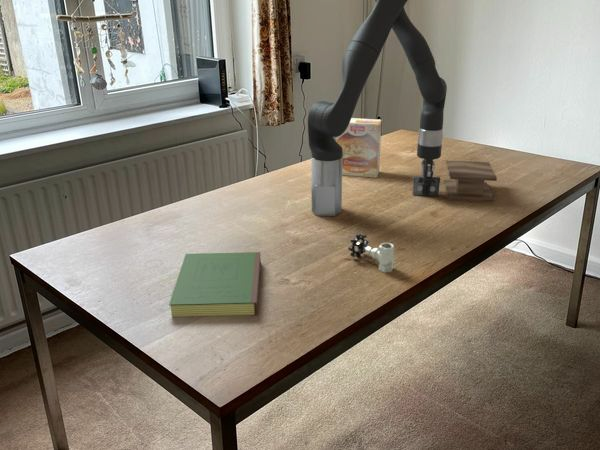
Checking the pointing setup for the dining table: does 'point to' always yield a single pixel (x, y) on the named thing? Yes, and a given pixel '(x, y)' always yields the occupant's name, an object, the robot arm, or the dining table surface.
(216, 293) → the hardcover book
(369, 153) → the coffeecake box
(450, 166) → the stand
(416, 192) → the mini dv tape
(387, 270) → the valve
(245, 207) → the dining table surface
